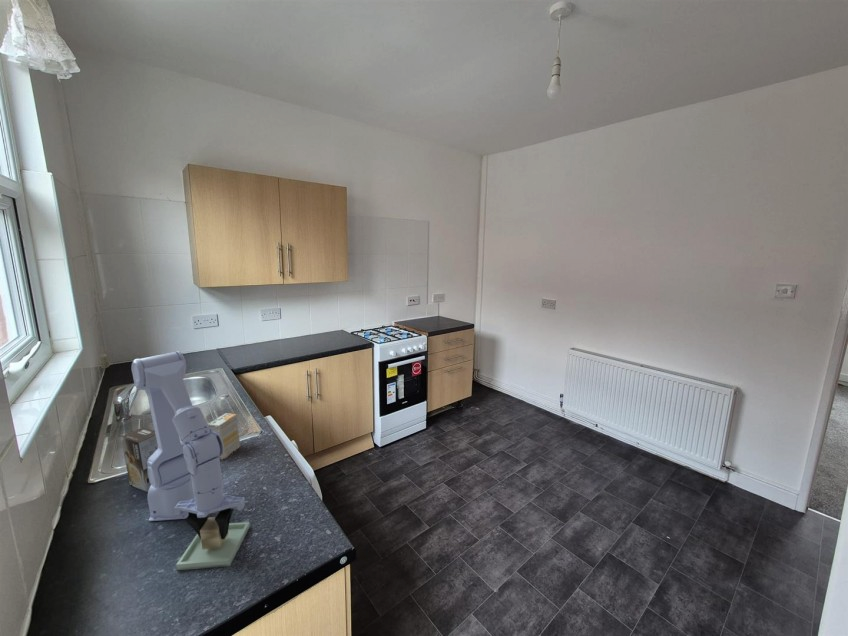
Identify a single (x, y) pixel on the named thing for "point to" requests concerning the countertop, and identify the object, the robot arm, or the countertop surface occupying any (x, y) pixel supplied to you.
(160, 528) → the countertop surface
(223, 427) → the supplement box
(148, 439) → the coffee box
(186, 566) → the tray
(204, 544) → the beech block
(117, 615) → the countertop surface
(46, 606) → the countertop surface
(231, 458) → the countertop surface
